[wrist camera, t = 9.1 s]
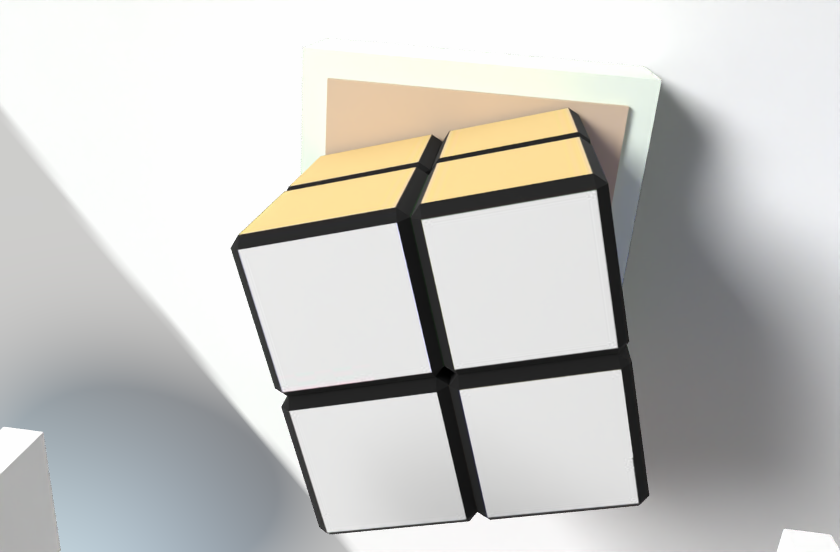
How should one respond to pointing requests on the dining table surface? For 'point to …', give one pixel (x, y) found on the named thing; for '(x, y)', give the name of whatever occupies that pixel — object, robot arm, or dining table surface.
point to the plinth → (476, 104)
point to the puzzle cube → (450, 328)
